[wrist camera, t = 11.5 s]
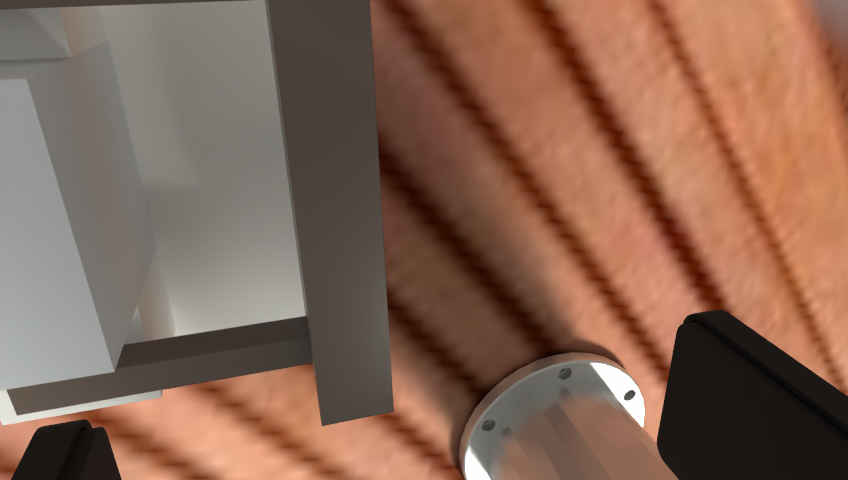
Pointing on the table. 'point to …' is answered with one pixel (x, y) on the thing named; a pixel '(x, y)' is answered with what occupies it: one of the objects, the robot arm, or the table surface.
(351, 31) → the grey frame
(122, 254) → the stand
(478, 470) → the robot arm
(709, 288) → the table surface
